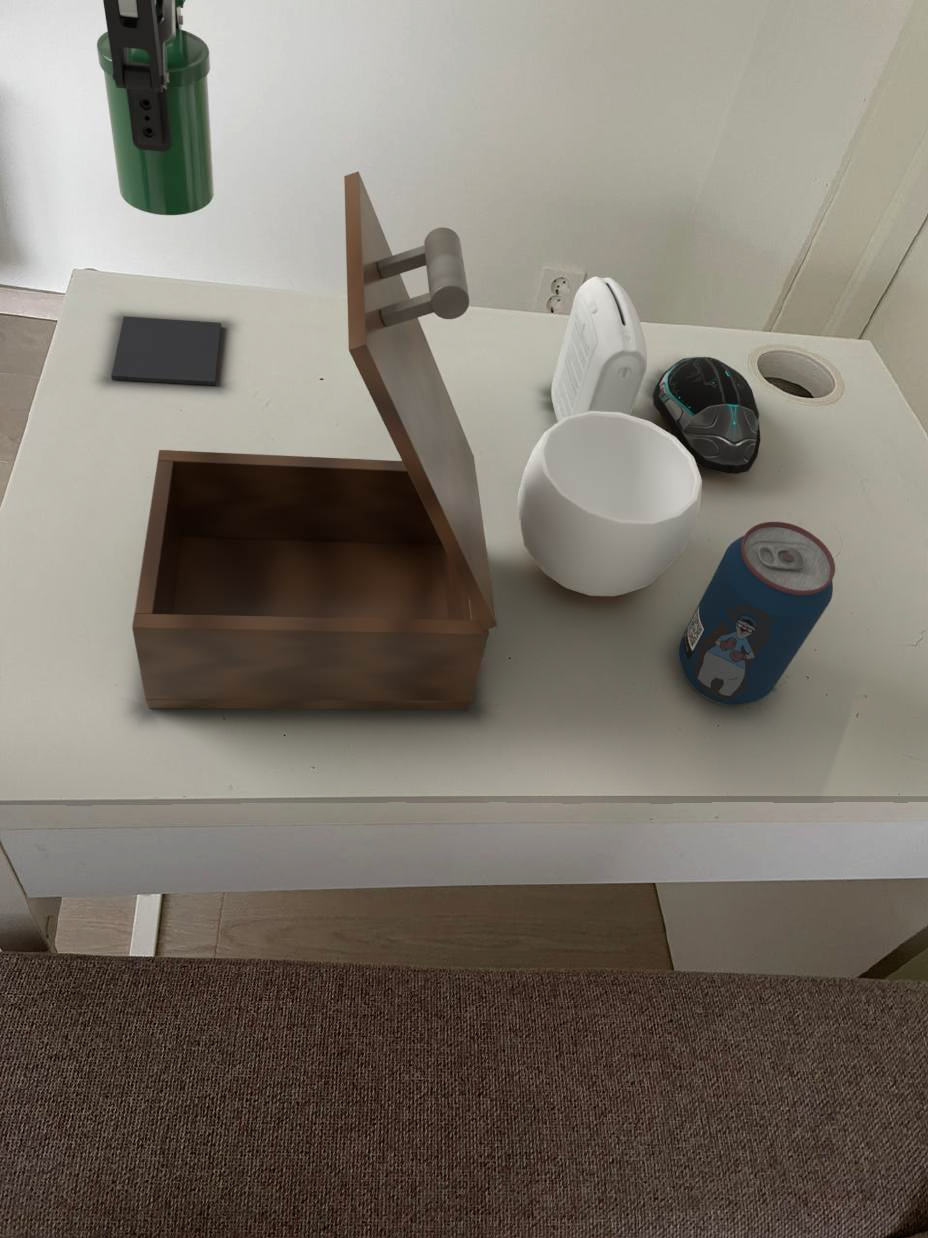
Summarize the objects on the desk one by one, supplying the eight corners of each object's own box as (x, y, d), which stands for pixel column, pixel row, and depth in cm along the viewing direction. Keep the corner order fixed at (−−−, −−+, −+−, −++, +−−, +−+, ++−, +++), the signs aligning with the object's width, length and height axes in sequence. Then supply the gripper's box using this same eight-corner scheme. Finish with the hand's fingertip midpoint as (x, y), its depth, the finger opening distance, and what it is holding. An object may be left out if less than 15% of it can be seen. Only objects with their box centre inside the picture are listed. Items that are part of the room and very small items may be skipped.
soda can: (759, 637, 72) (830, 519, 63) (779, 718, 67) (858, 604, 58) (666, 628, 71) (724, 508, 62) (680, 710, 67) (744, 593, 57)
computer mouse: (730, 370, 92) (753, 316, 88) (770, 498, 82) (798, 444, 77) (639, 360, 91) (657, 306, 87) (668, 489, 80) (690, 434, 76)
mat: (111, 379, 79) (111, 375, 79) (124, 319, 84) (123, 315, 84) (215, 385, 81) (214, 381, 80) (221, 326, 86) (221, 322, 85)
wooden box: (147, 708, 61) (131, 627, 55) (169, 535, 70) (158, 449, 64) (469, 710, 64) (489, 633, 58) (451, 544, 73) (467, 463, 67)
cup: (547, 480, 79) (575, 381, 72) (690, 547, 77) (734, 452, 69) (475, 576, 72) (497, 476, 64) (631, 654, 69) (673, 560, 62)
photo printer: (618, 471, 81) (663, 343, 72) (568, 471, 80) (606, 341, 71) (591, 390, 87) (629, 262, 78) (544, 388, 86) (576, 260, 77)
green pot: (110, 212, 64) (88, 63, 57) (123, 162, 68) (105, 17, 61) (213, 221, 65) (204, 76, 58) (220, 171, 69) (213, 30, 62)
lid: (348, 349, 42) (461, 313, 41) (343, 175, 51) (436, 143, 50) (484, 630, 58) (568, 609, 57) (462, 460, 67) (534, 439, 66)
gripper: (72, -265, 54) (113, 63, 66) (18, -189, 45) (78, 172, 57) (216, -243, 55) (229, 75, 68) (191, -165, 46) (212, 185, 59)
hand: (159, 119), depth 62 cm, fingers closed on green pot, 6 cm apart
